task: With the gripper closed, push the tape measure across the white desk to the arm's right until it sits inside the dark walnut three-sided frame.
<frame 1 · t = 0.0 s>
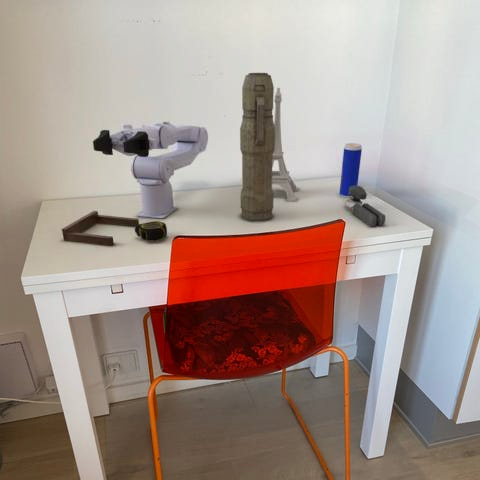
hand: (109, 146, 106), 22 cm above the table, tool horizontal, fingers open, 7 cm apart
eiffel tower: (275, 194, 147), on the table
beverage can: (347, 196, 145), on the table
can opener: (361, 216, 129), on the table
walnut frame: (105, 233, 120), on the table
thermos: (256, 217, 129), on the table
tape measure: (151, 239, 116), on the table
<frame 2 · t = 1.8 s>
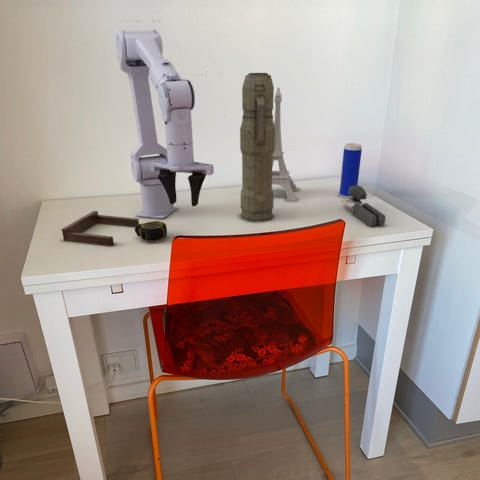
hand: (184, 204, 109), 9 cm above the table, tool pointing down, fingers open, 5 cm apart
nothing on the table moved.
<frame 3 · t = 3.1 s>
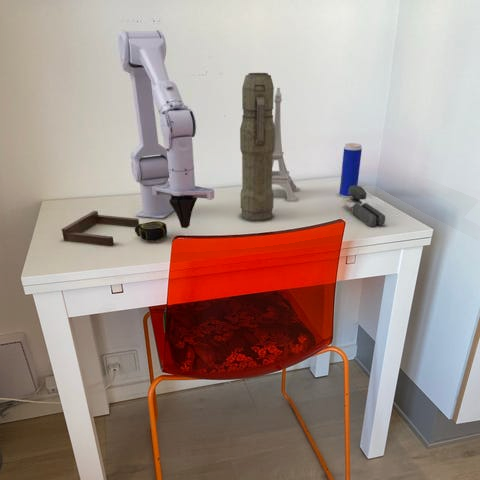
hand: (185, 226, 112), 4 cm above the table, tool pointing down, fingers closed
nothing on the table moved.
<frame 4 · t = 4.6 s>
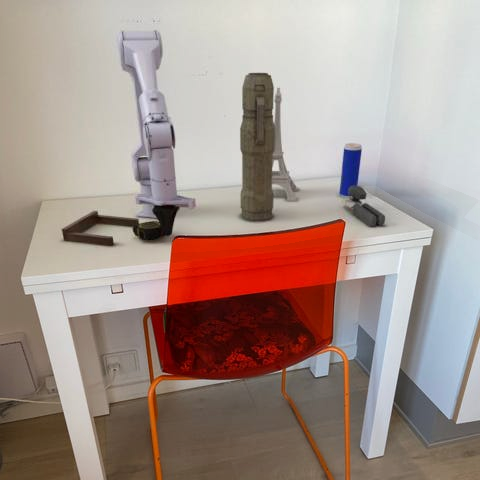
hand: (168, 234, 114), 1 cm above the table, tool pointing down, fingers closed
tape measure: (149, 238, 117), on the table, touching gripper
everything else where it was.
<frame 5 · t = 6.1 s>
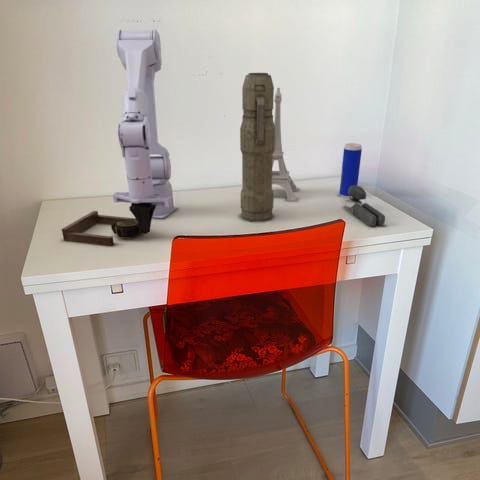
hand: (146, 232, 116), 1 cm above the table, tool pointing down, fingers closed
tape measure: (127, 236, 118), on the table, touching gripper
everything else where it was.
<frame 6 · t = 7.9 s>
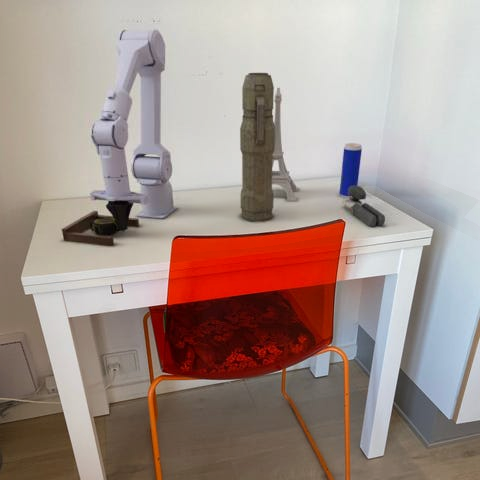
hand: (123, 230, 118), 1 cm above the table, tool pointing down, fingers closed
tape measure: (105, 234, 120), on the table, touching gripper
everything else where it was.
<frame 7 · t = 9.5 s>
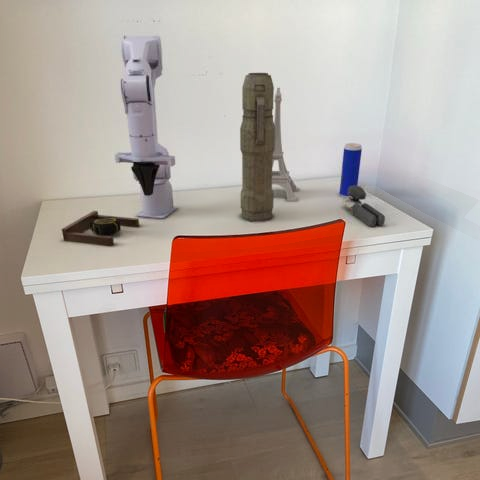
hand: (148, 194, 113), 10 cm above the table, tool pointing down, fingers closed
tape measure: (105, 234, 120), on the table
everything else where it was.
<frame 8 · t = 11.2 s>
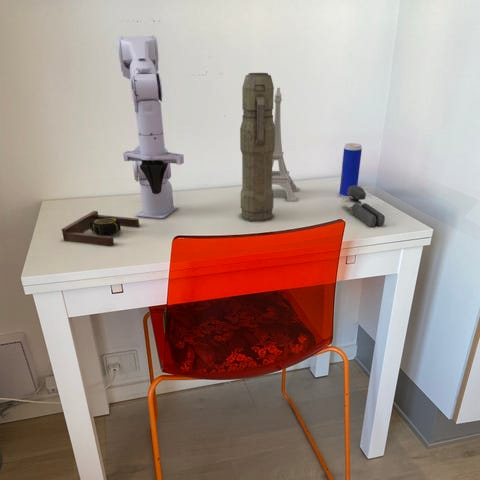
hand: (156, 192, 114), 10 cm above the table, tool pointing down, fingers closed
nothing on the table moved.
at the end: tape measure 0.2 cm off-centre on the walnut frame, point 0.0 cm above the walnut frame's base; tape measure tilted 0° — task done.
